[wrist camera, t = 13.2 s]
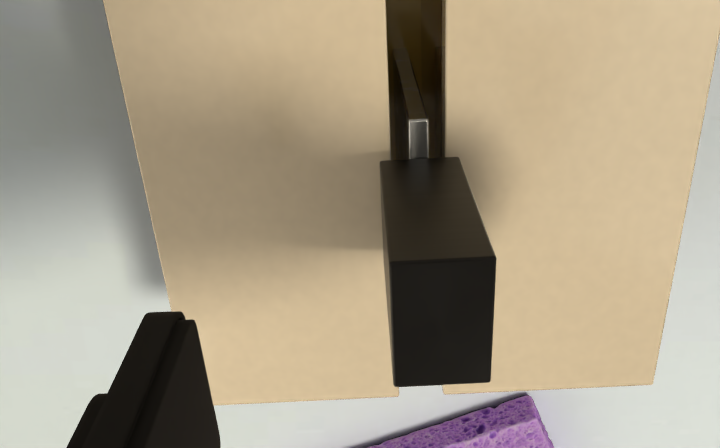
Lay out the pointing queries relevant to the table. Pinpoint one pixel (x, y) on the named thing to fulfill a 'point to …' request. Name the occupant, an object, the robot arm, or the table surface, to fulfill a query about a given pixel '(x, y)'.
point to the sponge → (483, 430)
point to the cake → (446, 139)
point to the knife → (433, 255)
